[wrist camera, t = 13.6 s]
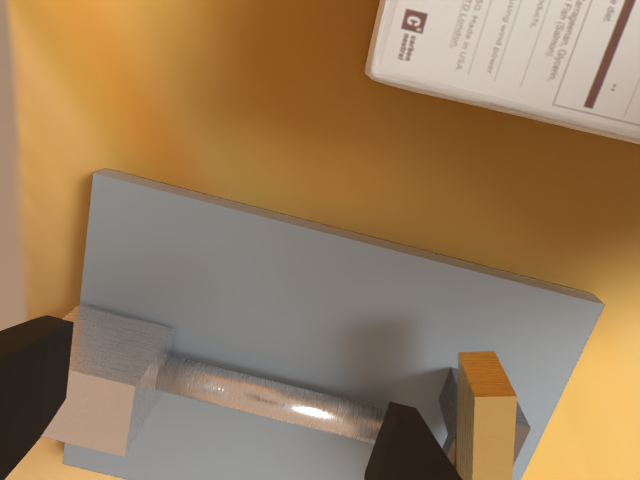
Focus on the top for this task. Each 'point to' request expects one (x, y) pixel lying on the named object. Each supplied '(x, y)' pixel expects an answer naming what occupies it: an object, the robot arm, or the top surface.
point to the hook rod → (174, 387)
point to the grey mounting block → (450, 418)
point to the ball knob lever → (484, 418)
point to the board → (307, 328)
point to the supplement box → (518, 58)
